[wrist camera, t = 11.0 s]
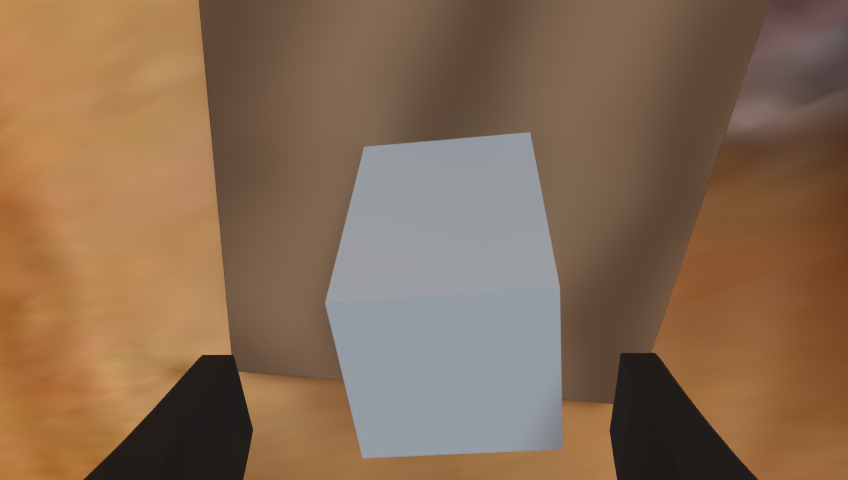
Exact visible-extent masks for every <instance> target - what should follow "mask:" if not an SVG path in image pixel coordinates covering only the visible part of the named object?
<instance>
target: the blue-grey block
mask: <svg viewBox="0 0 848 480" xmlns="http://www.w3.org/2000/svg"><path fill="white" fill-rule="evenodd" d="M325 305H326V309H327V313H328V317H329V321H330V326H331V330H332V334H333V338H334V342H335V346H336V350H337V355H338V359H339V363H340V367H341V371H342V375H343V379H344V384H345V388H346V392H347V396H348V400H349V404H350V408H351V413H352V417H353V421H354V425H355V429H356V433H357V437H358V442H359V446H360V450H361V454H362V458H382V457H404V456H426V455H448V454H471V453H493V452H515V451H537V450H559V449H563V442H562V379H561V316H560V285H559V280H558V274H557V269H556V264H555V259H554V254H553V248H552V243H551V238H550V233H549V228H548V222H547V217H546V212H545V207H544V202H543V196H542V191H541V186H540V181H539V176H538V170H537V165H536V160H535V155H534V150H533V144H532V139H531V134H530V132H527V133H516V134H504V135H493V136H482V137H470V138H459V139H447V140H436V141H425V142H413V143H402V144H390V145H379V146H368V147H364V149H363V153H362V157H361V161H360V165H359V169H358V173H357V177H356V181H355V185H354V189H353V193H352V197H351V201H350V205H349V209H348V213H347V217H346V221H345V225H344V229H343V233H342V237H341V241H340V245H339V249H338V253H337V257H336V261H335V265H334V269H333V273H332V277H331V281H330V285H329V289H328V293H327V297H326V301H325Z"/></svg>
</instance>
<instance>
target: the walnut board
mask: <svg viewBox="0 0 848 480" xmlns="http://www.w3.org/2000/svg"><path fill="white" fill-rule="evenodd" d="M769 3H770V0H199V8H200V19H201V29H202V40H203V51H204V62H205V73H206V83H207V94H208V105H209V116H210V127H211V137H212V148H213V159H214V170H215V180H216V191H217V202H218V213H219V224H220V234H221V245H222V256H223V267H224V277H225V288H226V299H227V310H228V321H229V331H230V342H231V353H232V355H234V357H235V361H236V365H237V369H238V371H239V372H250V373H262V374H274V375H285V376H297V377H308V378H320V379H332V380H343V381H344V379H343V375H342V371H341V367H340V363H339V359H338V355H337V350H336V346H335V342H334V338H333V334H332V330H331V326H330V321H329V317H328V313H327V309H326V305H325V301H326V297H327V293H328V289H329V285H330V281H331V277H332V273H333V269H334V265H335V261H336V257H337V253H338V249H339V245H340V241H341V237H342V233H343V229H344V225H345V221H346V217H347V213H348V209H349V205H350V201H351V197H352V193H353V189H354V185H355V181H356V177H357V173H358V169H359V165H360V161H361V157H362V153H363V149H364V147H368V146H379V145H390V144H402V143H413V142H425V141H436V140H447V139H459V138H470V137H482V136H493V135H504V134H516V133H527V132H530V134H531V139H532V144H533V150H534V155H535V160H536V165H537V170H538V176H539V181H540V186H541V191H542V196H543V202H544V207H545V212H546V217H547V222H548V228H549V233H550V238H551V243H552V248H553V254H554V259H555V264H556V269H557V274H558V280H559V285H560V316H561V379H562V399H563V400H575V401H586V402H598V403H610V404H614V398H615V390H616V383H617V376H618V369H619V362H620V355H621V353H651V352H652V349H653V346H654V343H655V340H656V337H657V334H658V331H659V328H660V325H661V322H662V319H663V316H664V313H665V310H666V307H667V304H668V301H669V298H670V295H671V293H672V290H673V287H674V284H675V281H676V278H677V275H678V272H679V269H680V266H681V263H682V260H683V257H684V254H685V251H686V248H687V245H688V242H689V239H690V236H691V233H692V230H693V227H694V225H695V222H696V219H697V216H698V213H699V210H700V207H701V204H702V201H703V198H704V195H705V192H706V189H707V186H708V183H709V180H710V177H711V174H712V171H713V168H714V165H715V162H716V159H717V157H718V154H719V151H720V148H721V145H722V142H723V139H724V136H725V133H726V130H727V127H728V124H729V121H730V118H731V115H732V112H733V109H734V106H735V103H736V100H737V97H738V94H739V91H740V89H741V86H742V83H743V80H744V77H745V74H746V71H747V68H748V65H749V62H750V59H751V56H752V53H753V50H754V47H755V44H756V41H757V38H758V35H759V32H760V29H761V26H762V23H763V21H764V18H765V15H766V12H767V9H768V6H769Z"/></svg>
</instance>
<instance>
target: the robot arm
mask: <svg viewBox="0 0 848 480" xmlns="http://www.w3.org/2000/svg"><path fill="white" fill-rule="evenodd" d="M252 433H253V428H252V424H251V421H250V417H249V413H248V409H247V405H246V401H245V397H244V393H243V389H242V385H241V381H240V377H239V373H238V369H237V365H236V361H235V357H234V355H202V356H201V357H200V358H199V359H198V360H197V361H196V362H195V363H194V365H193V366H192V367H191V368H190V369H189V370H188V371H187V372H186V373H185V374H184V376H183V377H182V378H181V379H180V380H179V381H178V382H177V383H176V384H175V386H174V387H173V388H172V389H171V390H170V391H169V392H168V393H167V395H166V396H165V397H164V398H163V399H162V400H161V401H160V402H159V403H158V404H157V406H156V407H155V408H154V409H153V410H152V411H151V412H150V413H149V414H148V415H147V416H146V417H145V418H144V420H143V421H142V422H141V423H140V424H139V425H138V426H137V427H136V428H135V429H134V430H133V431H132V432H131V433H130V434H129V435H128V436H127V438H126V439H125V440H124V441H123V442H122V443H121V444H120V445H119V446H118V447H117V448H116V449H115V450H114V451H113V452H112V453H111V454H110V455H109V456H107V457H106V458H105V459H104V460H103V461H102V462H101V463H100V464H99V465H98V466H97V467H96V468H95V469H94V470H93V471H92V472H91V473H90V474H89V475H88V476H87V477H86V478H85V479H84V480H243V478H244V473H245V468H246V464H247V459H248V454H249V448H250V443H251V438H252ZM610 435H611V442H612V449H613V456H614V462H615V468H616V475H617V480H758V479H757V478H756V477H755V476H754V475H753V474H752V473H751V471H750V470H749V469H748V468H747V467H746V466H745V465H744V464H743V463H742V462H741V460H740V459H739V458H738V457H737V456H736V455H735V454H734V453H733V451H732V450H731V449H730V448H729V447H728V446H727V444H726V443H725V442H724V441H723V440H722V438H721V437H720V436H719V435H718V434H717V432H716V431H715V430H714V429H713V428H712V426H711V425H710V424H709V423H708V422H707V420H706V419H705V418H704V417H703V415H702V414H701V413H700V412H699V410H698V409H697V408H696V406H695V405H694V404H693V403H692V401H691V400H690V399H689V397H688V396H687V395H686V393H685V392H684V391H683V389H682V388H681V387H680V385H679V384H678V383H677V381H676V380H675V378H674V377H673V376H672V374H671V373H670V372H669V370H668V369H667V367H666V366H665V365H664V363H663V362H662V360H661V359H660V358H659V357H658V356H657V355H656V354H655V353H621V355H620V362H619V369H618V376H617V383H616V390H615V398H614V405H613V412H612V419H611V426H610Z"/></svg>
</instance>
